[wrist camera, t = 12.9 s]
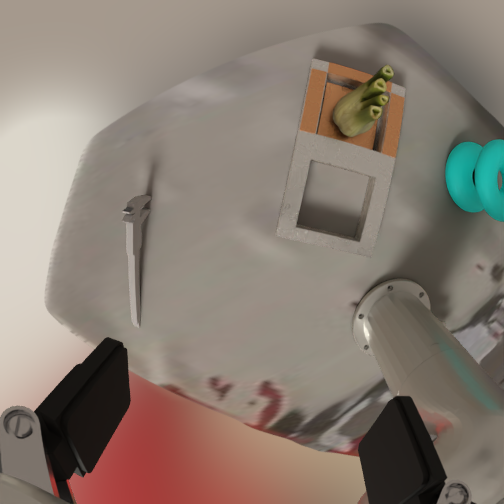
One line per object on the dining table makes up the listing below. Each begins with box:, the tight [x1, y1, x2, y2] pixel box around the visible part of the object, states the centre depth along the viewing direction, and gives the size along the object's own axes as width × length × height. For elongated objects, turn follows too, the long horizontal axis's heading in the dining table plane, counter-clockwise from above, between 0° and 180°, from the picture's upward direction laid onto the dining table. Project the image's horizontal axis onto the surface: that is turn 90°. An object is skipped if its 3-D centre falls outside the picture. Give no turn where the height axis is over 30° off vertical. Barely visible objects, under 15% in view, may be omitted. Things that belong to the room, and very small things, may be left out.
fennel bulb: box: [332, 65, 394, 137], centre depth 25 cm, size 6×5×12 cm
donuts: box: [445, 139, 504, 222], centre depth 26 cm, size 10×10×10 cm
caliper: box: [122, 195, 151, 328], centre depth 36 cm, size 20×1×6 cm, turn 168°
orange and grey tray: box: [276, 59, 406, 258], centre depth 31 cm, size 12×22×3 cm, turn 169°
